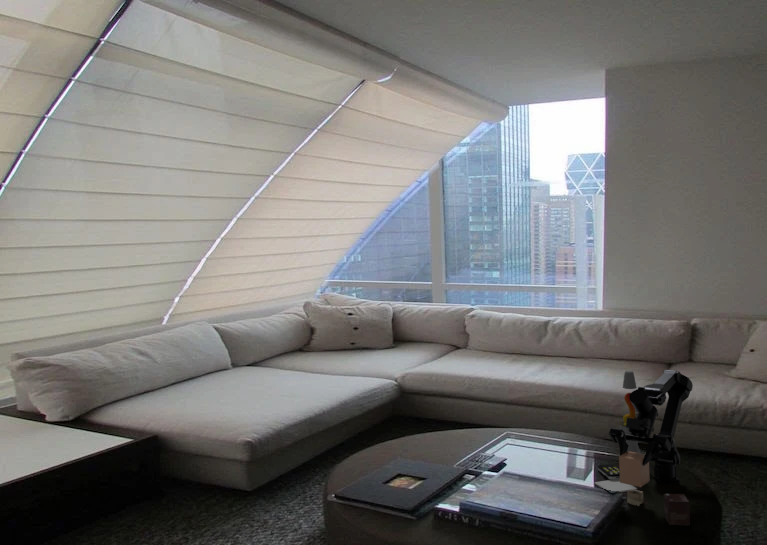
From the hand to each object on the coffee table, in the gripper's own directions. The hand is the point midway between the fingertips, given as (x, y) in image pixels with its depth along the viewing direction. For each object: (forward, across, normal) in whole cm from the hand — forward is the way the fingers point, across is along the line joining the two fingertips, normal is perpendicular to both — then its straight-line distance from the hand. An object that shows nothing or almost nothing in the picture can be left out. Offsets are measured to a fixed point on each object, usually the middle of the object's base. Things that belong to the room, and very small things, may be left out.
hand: (632, 462), depth 210 cm
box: (+13, +15, +6) cm, 21 cm away
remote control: (-5, -17, +24) cm, 29 cm away
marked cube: (+9, 0, +11) cm, 14 cm away
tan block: (+4, 0, +6) cm, 7 cm away
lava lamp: (-16, -16, +35) cm, 42 cm away
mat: (+2, -11, +17) cm, 20 cm away
